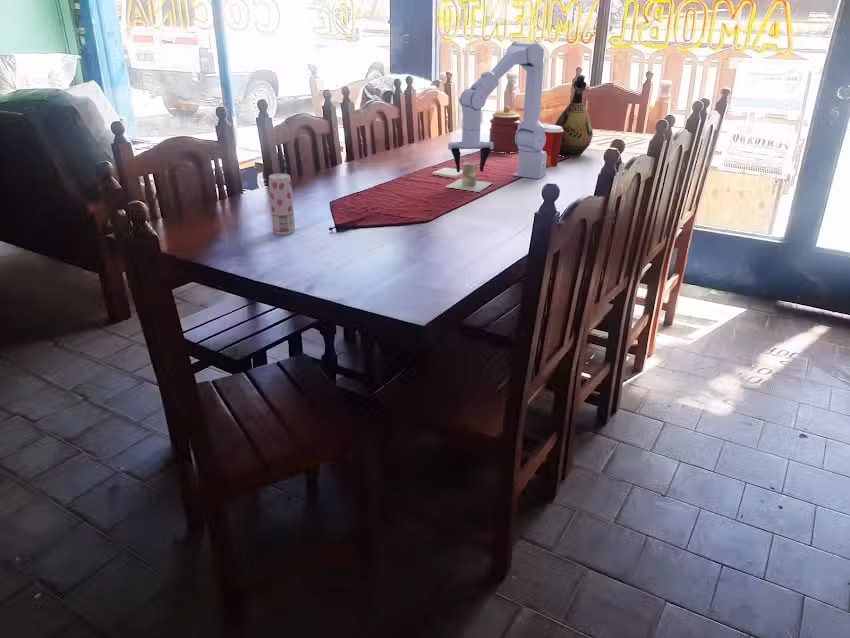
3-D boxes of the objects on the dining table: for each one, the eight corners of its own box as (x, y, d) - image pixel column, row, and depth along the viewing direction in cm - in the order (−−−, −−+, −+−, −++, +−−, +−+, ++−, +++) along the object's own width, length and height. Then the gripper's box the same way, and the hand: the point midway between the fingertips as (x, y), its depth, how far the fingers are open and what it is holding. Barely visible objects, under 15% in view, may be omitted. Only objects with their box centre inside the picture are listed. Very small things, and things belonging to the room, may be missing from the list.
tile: (467, 170, 235) (445, 167, 239) (455, 175, 228) (432, 172, 232) (467, 175, 236) (444, 171, 240) (454, 180, 229) (432, 176, 233)
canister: (509, 155, 263) (512, 109, 255) (482, 151, 270) (484, 106, 262) (526, 150, 272) (529, 105, 264) (499, 146, 279) (501, 102, 271)
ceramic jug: (590, 160, 255) (600, 78, 242) (549, 158, 258) (557, 77, 245) (589, 151, 270) (598, 73, 257) (551, 149, 273) (558, 72, 260)
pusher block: (476, 183, 220) (477, 162, 217) (474, 186, 217) (474, 165, 214) (464, 182, 221) (465, 161, 218) (462, 185, 218) (462, 164, 215)
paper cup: (559, 163, 251) (562, 125, 245) (560, 167, 244) (564, 128, 238) (538, 162, 252) (541, 124, 246) (539, 167, 245) (542, 128, 239)
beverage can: (285, 227, 179) (280, 172, 172) (299, 231, 176) (295, 175, 169) (268, 232, 175) (263, 176, 168) (282, 237, 172) (277, 179, 165)
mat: (492, 184, 222) (492, 183, 221) (478, 192, 212) (478, 191, 212) (460, 180, 227) (460, 178, 226) (444, 188, 217) (445, 186, 217)
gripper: (491, 126, 216) (489, 168, 221) (446, 126, 214) (446, 168, 220) (495, 130, 209) (493, 173, 215) (450, 130, 208) (449, 174, 214)
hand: (469, 171), depth 217 cm, fingers open, 7 cm apart
